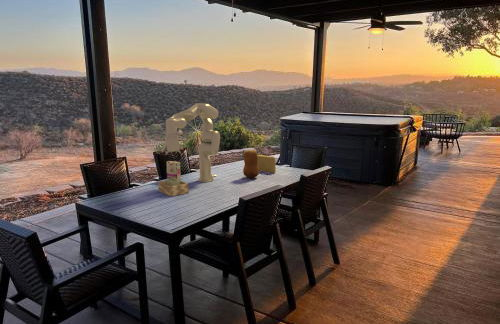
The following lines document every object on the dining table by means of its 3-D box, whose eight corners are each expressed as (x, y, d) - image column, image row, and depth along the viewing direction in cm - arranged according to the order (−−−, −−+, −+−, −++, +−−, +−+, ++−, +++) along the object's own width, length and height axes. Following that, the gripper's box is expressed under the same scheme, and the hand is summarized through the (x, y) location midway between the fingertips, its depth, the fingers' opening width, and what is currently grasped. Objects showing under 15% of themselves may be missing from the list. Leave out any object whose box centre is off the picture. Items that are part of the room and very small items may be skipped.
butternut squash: (252, 175, 315) (252, 147, 310) (262, 178, 305) (262, 149, 300) (239, 177, 307) (239, 149, 302) (249, 180, 296) (249, 151, 292)
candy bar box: (181, 181, 293) (180, 161, 290) (177, 182, 289) (176, 162, 286) (170, 179, 298) (169, 160, 295) (166, 181, 294) (165, 161, 291)
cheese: (278, 172, 328) (278, 156, 325) (271, 174, 321) (271, 158, 319) (261, 169, 343) (261, 153, 341) (254, 170, 337) (254, 155, 334)
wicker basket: (176, 187, 273) (176, 178, 272) (188, 193, 259) (188, 183, 257) (158, 190, 264) (158, 181, 263) (169, 196, 250) (169, 187, 248)
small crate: (174, 188, 267) (173, 178, 265) (180, 191, 259) (180, 180, 258) (166, 189, 263) (166, 179, 262) (172, 192, 256) (172, 181, 254)
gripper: (180, 134, 263) (181, 157, 266) (158, 136, 252) (159, 159, 255) (185, 135, 257) (185, 158, 260) (162, 137, 246) (164, 161, 250)
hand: (172, 159), depth 258 cm, fingers open, 9 cm apart
